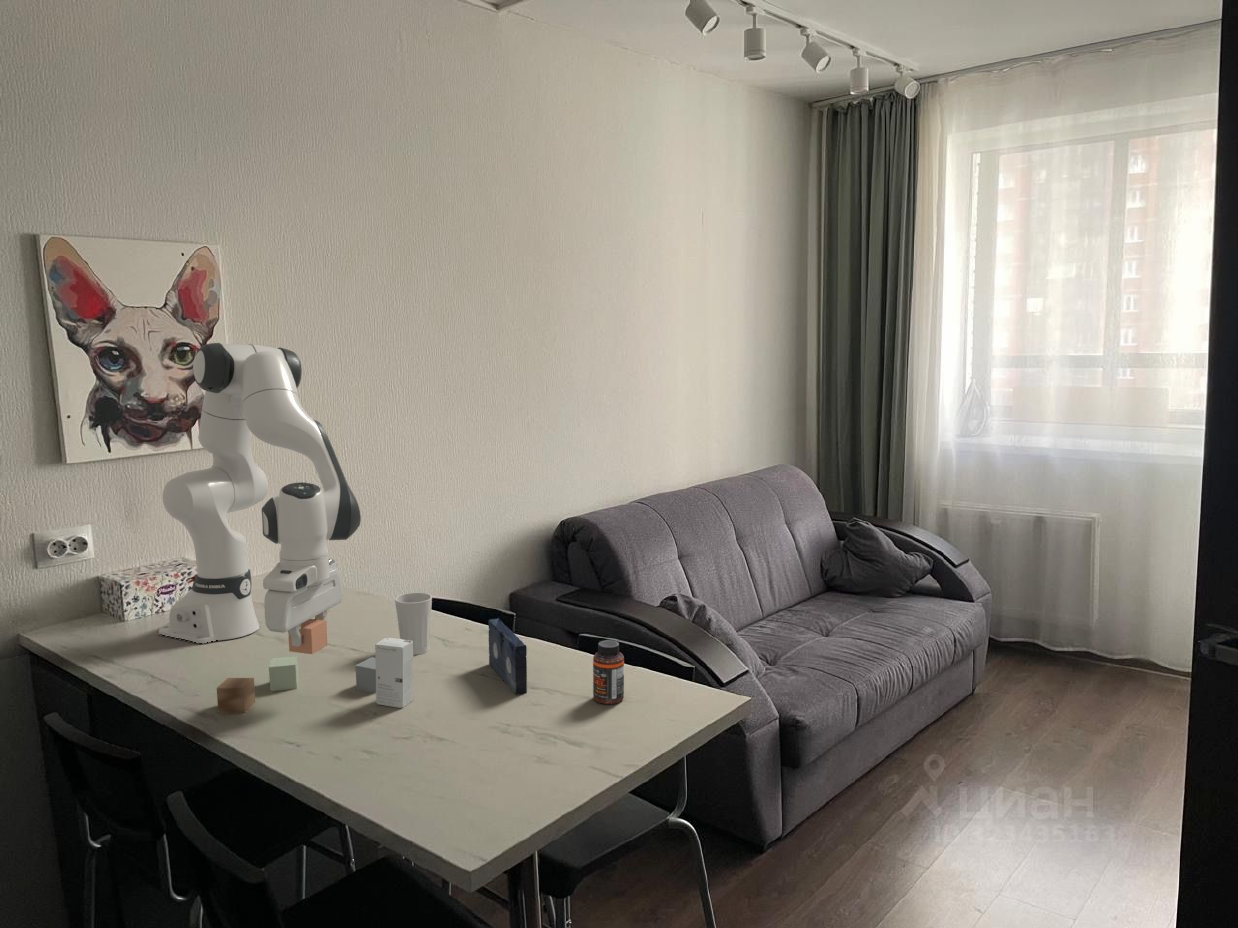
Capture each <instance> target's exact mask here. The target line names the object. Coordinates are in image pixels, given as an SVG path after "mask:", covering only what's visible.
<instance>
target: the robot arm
mask: <svg viewBox="0 0 1238 928" xmlns="http://www.w3.org/2000/svg"><path fill="white" fill-rule="evenodd" d="M192 363H193V364H192V366H193V367H192V372H193V376H194V377H193V378H194V380H195V383H196V384H197V386H198V387H199V388H200V389H201V390H203V391H205V392H204V396H203V401H202V406H201V413H200V414H201V415H200V422H199V429H198V437H197V438H198V442H199V444H200V445H201V447H202V448H203V449H204V450H205V451H207V452H208V453H210V454H212V465H211V467H209V468H204V469H199V470H194V471H189V472H185V473H183V474H180V475H178V476H176V477H173V478H171V479H170V480H168V481H167V482H166V483H165V486H164V487H163V491H162V494H161V495H162V504H163V506H164V509H165V510H166V512H167V513H168V514H169V515H170V516H171V518H173V519H175V520H177V521H178V522H180V523H181V524H182V525H183V526H184V527H185V528H186V530H187V532H188V533H189V535H190V537H191V540H192V542H193V543H192V544H193V547H194V553H195V561H196V562H195V563H196V574H195V575H193V576H190V577H188V578H187V580H189V581H187V583H188V584H190V583H192V586H191V589H190V591H188V592H187V593H186V594H185V595H183V596H182V597H181V598H180V599H179V600H177V602H175V603H174V604H173V605H172V606H171V608H170V610H169V615H168V616H169V617H168V618H169V619H168V623H166V624H164V625H163V626H162V627H160V628H159V630H158V635H159V634H163V635H168V636H173V637H178V638H183V639H186V640H190V641H193V642H192V643H194V642H196V643H195V644H199V643H202V644H208V643H212V642H211V641H213V642H216V640H218V641H225V640H232V639H236V638H241V637H245V636H248V635H250V634H253V633H255V632H257V631H258V630H259V629H260V627H261V625H260V623H259V620H258V618H257V615H256V612H255V606H254V603H253V597H252V593H251V592H252V574H251V570H250V569H249V558H248V557H249V556H248V547H247V546H248V544H247V539H246V537H245V536H244V535H243V534H242V533H240V532H239V531H237V530H235V529H232V528H231V526H230V524H229V522H228V521H229V520H228V518H227V514H229V513H233V512H239V511H243V510H246V509H249V508H251V507H253V506H255V505H256V504H258V503H260V502H262V501H263V500H264V499H265V498H266V497H267V494H268V491H269V482H268V481H269V480H268V477H267V475H266V473H265V471H263V469H262V468H261V467H260V466H259V465H258V464H257V463H256V462H255V459H254V456H253V452H252V451H253V450H252V438H253V435H254V437H256V438H257V439H258V440H260V441H262V442H263V443H265V444H268V445H270V446H274V447H278V448H284V449H287V450H291V451H293V452H295V453H296V452H297V453H298V454H302V456H303V455H304V456H305V457H306V458H308V459H310V461H311V462H312V463H313V467H314V468H315V471H316V473H317V475H318V478H319V480H320V484H321V485H322V487H320V486H318V485H316V484H314V483H310V482H291V483H289V484H286V485H284V486H283V487H281V488H280V490H279V493H278V495H277V496H272V497H271V498H270V499H268V500H267V502H266V503H265V504H264V505H263V506H262V507H261V516H262V517H261V518H262V519H261V521H262V535H263V537H265V538H266V539H268V540H269V541H271V542H272V543H274V544H275V545H277V544H278V545H279V544H280V552H279V562H278V563H277V564H276V565H275V566H274V568H272V570H271V571H270V572H269V573H268V574H267V575H266V576H265V577H263V580H262V586H263V589H264V590H267V591H266V593H265V595H264V601H263V602H264V606H263V607H264V619H265V621H264V622H265V626H266V628H267V629H268V631H270V632H273V633H282V634H283V633H286V632H287V634H288V633H289V634H288V636H289V635H290V636H291V641H292V645H293V646H296V647H299V646H301V645H302V644H304V635H301V634H300V632H299V629H301V623H303V622H305V621H307V620H309V619H313V618H314V619H317V620H325V621H327V620H326V619H327V616H328V610H329V609H331V608H333V607H335V606H337V605H339V604H340V603H342V601H343V598H344V589H343V582H342V581H343V580H342V575H341V572H340V570H339V568H338V562H336V561H335V559H333V558H330V555H329V548H328V545H327V541H347V540H348V539H349V538H350V537H351V536H352V535H353V534H354V533H356V531H357V530H358V529H359V527H360V526H361V523H362V522H361V520H362V519H361V517H362V516H361V509H360V506H359V503H358V501H357V499H356V497H355V495H354V493H353V491H352V489H351V488H350V486H349V483H348V482H347V480H346V477H345V474H344V472H343V469H342V467H341V465H340V462H339V460H338V458H337V454H336V452H335V449H334V448H333V446H332V443H331V440H330V438H329V436H328V434H327V432H326V430H325V428H324V427H323V425H322V424H321V422H320V421H318V420H315V419H314V418H312V417H311V416H310V415H309V414H308V413H307V411H306V410H305V409H304V408H303V405H302V404H301V401H300V397H299V396H300V395H299V392H298V388H299V386H300V384H301V380H302V374H303V372H302V369H303V368H302V364H301V359H300V358H299V357H298V354H296V353H295V352H294V351H292V350H289V349H287V348H283V347H272V346H268V345H261V344H254V343H253V344H252V343H248V344H244V343H223V344H222V343H220V342H213V343H206V344H203V345H201V346H200V347H199V348H198V350H197V351H196V353H195V356H194V360H193V362H192ZM322 488H323V490H322ZM259 626H260V627H259ZM190 641H189V642H190ZM207 642H208V643H207Z"/></svg>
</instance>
